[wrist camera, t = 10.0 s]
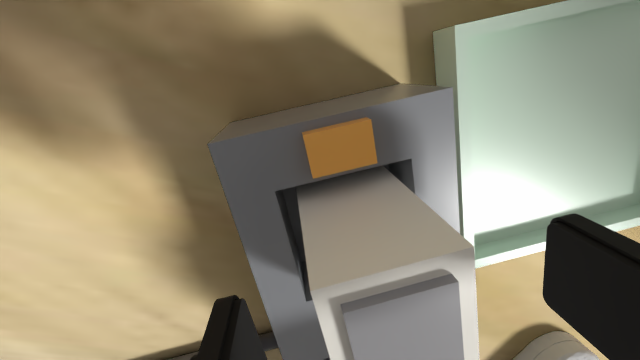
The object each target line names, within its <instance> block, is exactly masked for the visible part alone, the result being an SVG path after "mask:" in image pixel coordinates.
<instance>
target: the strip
mask: <svg viewBox="0 0 640 360" xmlns="http://www.w3.org/2000/svg"><path fill="white" fill-rule="evenodd" d="M207 145H208V148H209V150H210V153H211V156H212V159H213V162H214V165H215V167H216V170H217V173H218V176H219V179H220V182H221V185H222V187H223V190H224V193H225V196H226V199H227V202H228V205H229V207H230V210H231V213H232V216H233V219H234V222H235V224H236V227H237V230H238V233H239V236H240V239H241V242H242V244H243V247H244V250H245V253H246V256H247V259H248V261H249V264H250V267H251V270H252V273H253V276H254V279H255V281H256V284H257V287H258V290H259V293H260V296H261V298H262V301H263V304H264V307H265V310H266V313H267V316H268V318H269V321H270V324H271V327H272V330H273V332H270V333H266V334H262V335H258V336H259V339H260V341H261V344H262V347H263V349H264V351H268V350H272V349H276V348H279V350H280V353H281V355H282V358H283V360H330V357H329V353H328V350H327V346H326V343H325V340H324V336H323V333H322V329H321V326H320V323H319V319H318V316H317V313H316V309H315V306H314V302H313V299H312V296H311V292H310V286H309V279H308V272H307V264H306V257H305V250H304V243H303V235H302V228H301V221H300V213H299V206H298V199H297V192H296V186H299V185H303V184H307V183H312V182H316V181H320V180H324V179H328V178H332V177H336V176H341V175H345V174H349V173H353V172H357V171H361V170H365V169H369V168H374V167H378V166H382V165H383V166H384V167H385V168H386V169H387V170H388V171H389V172H391V173H392V174H393V175H394V176H395V177H396V178H397V179H398V180H400V181H401V182H402V183H403V184H404V185H405V186H406V187H407V188H409V189H410V190H411V191H412V192H413V193H414V194H415V195H416V196H418V197H419V198H420V199H421V200H422V201H423V202H424V203H426V204H427V205H428V206H429V207H430V208H431V209H432V210H433V211H435V212H436V213H437V214H438V215H439V216H440V217H441V218H442V219H444V220H445V221H446V222H447V223H448V224H449V225H450V226H451V227H453V228H454V229H455V230H456V231H457V232H458V233H459V234H460V224H459V203H458V183H457V162H456V142H455V121H454V100H453V87H444V86H429V85H415V84H396V85H392V86H388V87H383V88H379V89H375V90H370V91H366V92H362V93H357V94H353V95H348V96H344V97H340V98H335V99H331V100H327V101H322V102H318V103H314V104H309V105H305V106H300V107H296V108H292V109H287V110H283V111H279V112H274V113H270V114H266V115H261V116H257V117H252V118H248V119H244V120H239V121H235V122H231V123H229V124H228V125H227V126H226V127H225V128H224V129H223V130H222V131H221V132H220V133H218V134H217V135H216V136H215V137H214V138H213V139H212V140H211V141H210V142H209V143H208V144H207ZM198 352H199V351H197V352H194V353H190V354H186V355H182V356H179V357H175V358H171V359H167V360H190V358H191V357H192V356H193V355H197V354H198Z"/></svg>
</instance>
